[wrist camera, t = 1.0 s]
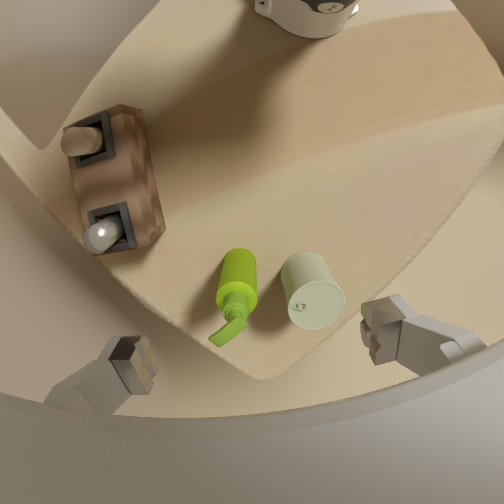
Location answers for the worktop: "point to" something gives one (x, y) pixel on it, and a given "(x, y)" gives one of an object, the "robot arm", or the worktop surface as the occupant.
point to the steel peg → (104, 233)
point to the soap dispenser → (235, 294)
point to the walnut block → (119, 178)
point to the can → (311, 292)
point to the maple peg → (83, 141)
